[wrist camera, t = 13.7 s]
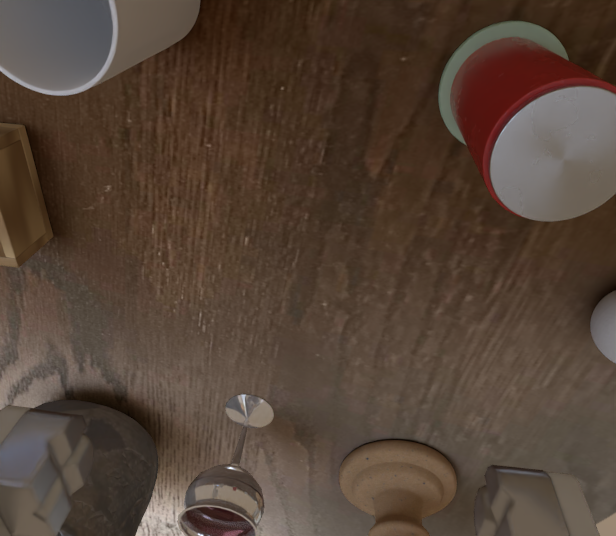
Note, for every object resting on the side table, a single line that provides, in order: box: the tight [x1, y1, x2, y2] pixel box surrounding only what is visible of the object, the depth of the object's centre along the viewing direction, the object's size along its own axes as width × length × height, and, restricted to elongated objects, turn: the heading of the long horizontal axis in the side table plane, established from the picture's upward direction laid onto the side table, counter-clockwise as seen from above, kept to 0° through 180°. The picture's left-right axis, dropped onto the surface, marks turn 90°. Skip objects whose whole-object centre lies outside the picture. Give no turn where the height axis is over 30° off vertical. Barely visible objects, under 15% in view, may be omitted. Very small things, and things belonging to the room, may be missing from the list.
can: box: [450, 37, 616, 222], centre depth 25 cm, size 6×6×12 cm
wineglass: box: [177, 395, 274, 536], centre depth 44 cm, size 7×7×12 cm
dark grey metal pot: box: [11, 400, 158, 536], centre depth 47 cm, size 18×18×15 cm
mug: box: [0, 0, 200, 96], centre depth 25 cm, size 10×7×12 cm, turn 104°
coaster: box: [438, 21, 569, 145], centre depth 30 cm, size 8×8×1 cm
